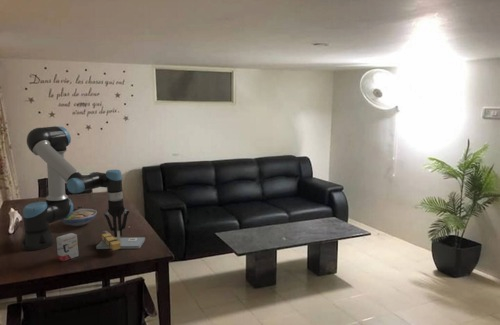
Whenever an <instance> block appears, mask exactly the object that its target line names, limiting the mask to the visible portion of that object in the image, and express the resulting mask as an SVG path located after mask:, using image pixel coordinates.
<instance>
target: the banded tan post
mask: <svg viewBox="0 0 500 325" xmlns="http://www.w3.org/2000/svg"><path fill="white" fill-rule="evenodd" d="M115 238H116V237H115V236H114V235H112V234H111V233H110V232H109V231H108V230H102V231H101V241H102V240H103V241H104V242H105V243H106V244H107V245H108V246H109V247H110V248H111V249H110V250H112V251H116V250H120V249H121V245H120V242H119V241H118V240H116V239H115Z"/></svg>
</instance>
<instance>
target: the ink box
mask: <svg viewBox="0 0 500 325" xmlns="http://www.w3.org/2000/svg"><path fill="white" fill-rule="evenodd" d="M55 240H56V248H57V251H56V252H57V260H58V261H61V262H65V261H69V260H72V259H74V258H77V257H79V246H78V245H79V244H78V234H76V233H73V232H70V233H65V234H63V235H60V236H59V235H58V236H57V237H56V238H55Z"/></svg>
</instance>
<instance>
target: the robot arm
mask: <svg viewBox="0 0 500 325" xmlns="http://www.w3.org/2000/svg"><path fill="white" fill-rule="evenodd" d="M71 139H72V138H71V134H70V132H69V131H68V129H67V128H66V127H64V126H56V125H55V126H44V127H36V128H33V129H32V130H30V131H29V132H28V133H27V136H26V144H27V148H28V149H29V151H31V153H32V154H33V155H35V156H39V157H40V159H42V161H44V162H45V163H46V168H47V169H46V171H47V189H48V195H47V196H46V197H45V201H41V200H40V201H36V202H35V201H34V202H31V203H28V204H26V205H25V206H24V207H23V208H22V218H23V224H24V225H23V227H24V237H23V240H22V244H21V245H22V249H23V250H27V251H38V250H43V249H45V248H49V247H51V246H53V245H54V244H55V243H54V237H53V235H52V233H51V231H50V224H51V223H54V222H58V221H61V220H62V219H65V218H67V217H69V216H70V215H71V214H72V212H73V209H74V204H73V202H72V201H73V200H72V199H71V198H69V195H67V194H66V189H67V190H68V192H69V193H71V194H79V193H83V192H86V191H87V192H88V191H91V190H94V189H98V188H106V189H107V190H106V191H107V201H108V202H107V204H108V209H107V211H106V212H105V213H103V216H104V217H105V220H106V222H107V224H108V227H109V230H110V231H111V232H113V237H114V238H116V239H117V240H118V241H119V242H120V238H121V237H123V232H122V231H123V230H124V229H126V226H127V221H128V220H127V219H128V216H129V214H130V210H129V209H126V207H125V206H124V193H123V176H122V175H123V174H122V171H121V170H120V169H109V170H107V171H106V172H100V171H93V172H91V173H90V174H87V175H83V174H82V173H81V172H79V171H78V170H77V169H76V168H75V167H74V166H73V165H72V164H71V163H70V162H69V161H67V159H65V157H64V156H65V155H64V154H65V152H67V147H68V146H70V144H71V142H72V140H71ZM122 215H123V218H122ZM110 216H111V218H112V221H111V219H110ZM117 226H118V227H117ZM120 243H121V242H120Z"/></svg>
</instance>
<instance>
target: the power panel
mask: <svg viewBox="0 0 500 325" xmlns="http://www.w3.org/2000/svg"><path fill="white" fill-rule="evenodd" d="M114 238H115V239H116V237H114ZM116 240H117V239H116ZM145 241H146V237H145V236H144V237H139V236H138V237H137V236H136V237H120V242H121V243H120V245H121V249H122V250H123V249H124V250H125V249H126V250H129V249H131V250H133V249H135V250H136V249H138V250H139V249H140V248H141V247H142V246H143V244H144V242H145ZM95 247H96V250H112V249H111V248H110V247H109V246H108V245H107V244H106V243H105V242H104V241H103V240H102V239H101V241H100V242H99V243H98V244H97V245H96V246H95Z"/></svg>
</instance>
